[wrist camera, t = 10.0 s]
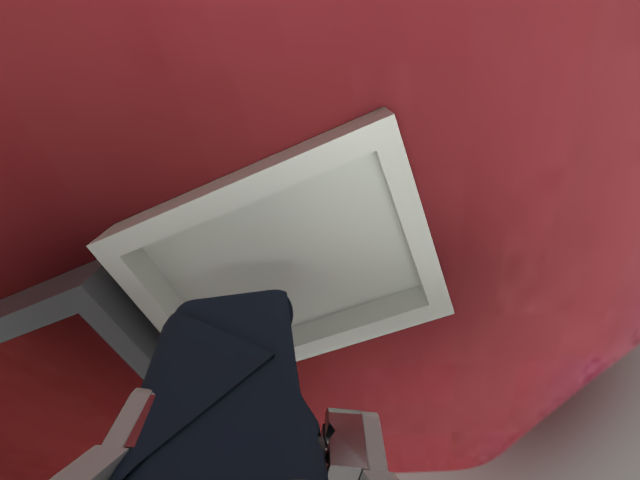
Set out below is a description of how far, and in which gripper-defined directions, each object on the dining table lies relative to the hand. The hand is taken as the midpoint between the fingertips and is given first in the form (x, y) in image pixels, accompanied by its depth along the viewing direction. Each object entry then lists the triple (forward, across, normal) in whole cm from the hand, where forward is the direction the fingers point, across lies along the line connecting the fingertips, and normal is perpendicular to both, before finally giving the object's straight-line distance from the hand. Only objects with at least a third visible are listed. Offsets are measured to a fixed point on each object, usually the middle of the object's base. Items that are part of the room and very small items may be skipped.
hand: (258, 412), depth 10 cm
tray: (+9, 0, 0) cm, 9 cm away
